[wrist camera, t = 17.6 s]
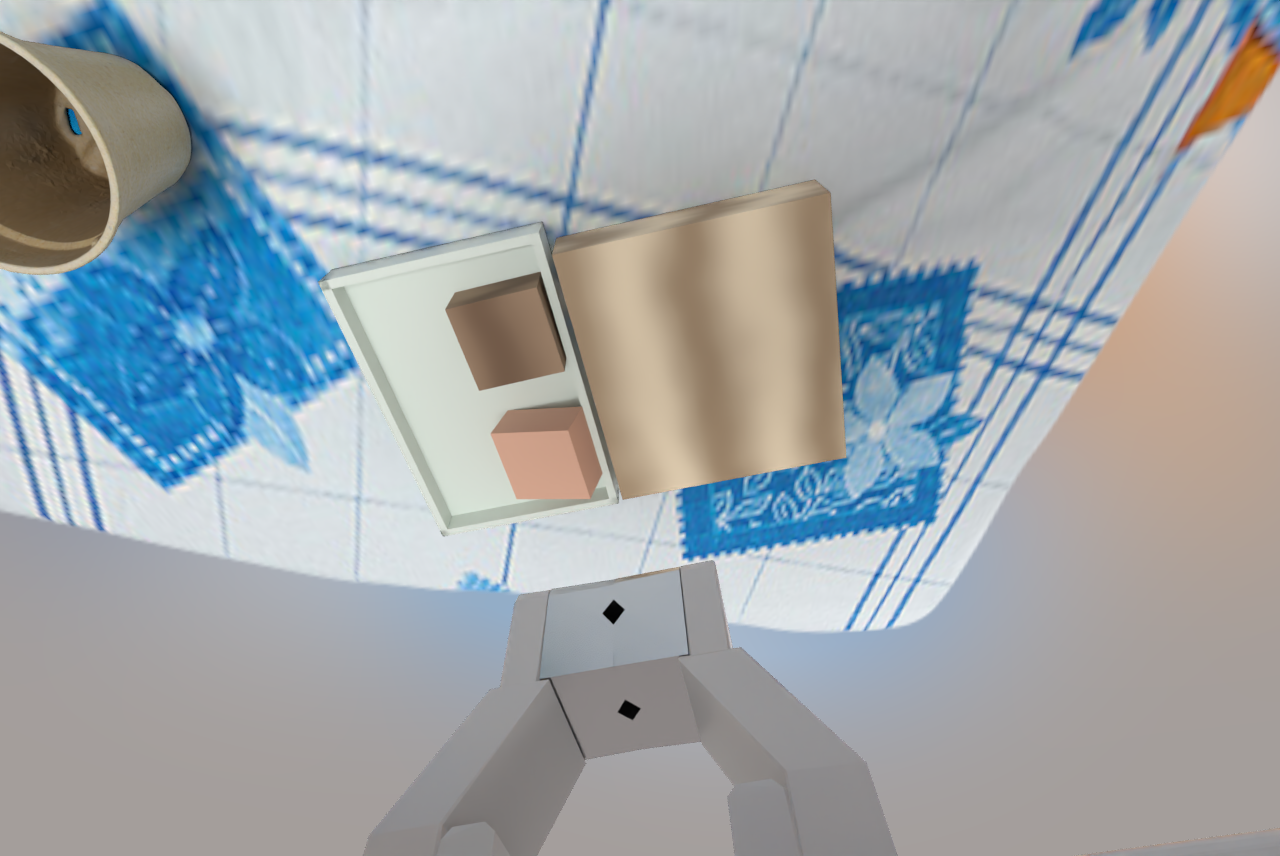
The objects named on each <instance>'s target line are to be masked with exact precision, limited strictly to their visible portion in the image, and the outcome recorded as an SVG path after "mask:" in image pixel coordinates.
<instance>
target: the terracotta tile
mask: <svg viewBox="0 0 1280 856" xmlns="http://www.w3.org/2000/svg"><path fill="white" fill-rule="evenodd" d="M490 434H491V436H492V439H493V441H494V444H495V446H496V449H497V451H498V454H499V456H500V459H501V461H502V464H503V466H504V469H505V471H506V474H507V476H508V479H509V481H510V484H511V486H512V489H513V491H514V494H515V496H516V499H591V497H592V495H593V492H594V490H595V488H596V486H597V484H598V482H599V480H600V478H601V476H602V474H603V473H602V470H601V467H600V463H599V460H598V457H597V454H596V450H595V447H594V444H593V440H592V437H591V434H590V431H589V427H588V424H587V421H586V418H585V414H584V411H583V408H582V407H564V408H545V409H526V410H508V411H507V412H506V413H505V415H504V416H503V417H502V419H501V420H500V421H499V423H498V424H497V425H496V427H495V428H494V429H493V431H492V432H491V433H490Z"/></svg>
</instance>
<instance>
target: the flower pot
mask: <svg viewBox="0 0 1280 856" xmlns="http://www.w3.org/2000/svg"><path fill="white" fill-rule="evenodd" d="M67 108H68V109H72V110H73V111H74V113H75V116H76V119H77V121H78V125H79V127H80V131H81V132H82V134H81V135H76V134H74V133H73V131H72V130H71V128H70V126H69V120H68V115H67V113H66V109H67ZM190 156H191V138H190V133H189V129H188V126H187V123H186V121H185V118H184V116H183V114H182V111H181V109H180V108H179V106H178V104H177V103H176V101H175V100H174V98H173V97H172V95H171V94H170V93H169V92H168V91H167V90H166V89H164V88H163V87H162V86H161V85H160V84H159V83H158V82H157V81H156V80H155V79H154V78H152V77H151V76H150V75H149V74H148V73H147V72H146V71H144V70H143V69H142V68H141V67H140V66H138V65H136V64H135V63H133V62H131V61H129V60H127V59H124V58H122V57H119V56H115V55H112V54H108V53H102V52H93V51H86V50H79V49H72V48H65V47H59V46H52V45H47V44H41V43H35V42H29V41H23V40H19V39H17V38H14V37H12V36H10V35H7V34H5V33H3V32H1V31H0V269H4V270H7V271H10V272H17V273H23V274H33V275H48V274H58V273H64V272H67V271H71V270H75V269H77V268H79V267H82V266H84V265H85V264H87V263H89V262H91V261H92V260H94V259H95V258H97V257H98V256H99V255H100V254H101V253H102V252H103V251H104V250H105V249H106V248H107V247H108V246H109V244H110V243H111V242H112V240H113V238H114V236H115V234H116V231H117V229H118V227H119V225H120V224H121V222H122V220H123V219H124V218H126V217H127V216H129V215H130V214H131V213H133V212H134V211H135V210H137V209H138V208H140V207H141V206H143V205H144V204H145V203H147V202H148V201H150V200H151V199H152V198H154V197H155V196H157V195H158V194H160V193H161V192H163V191H164V190H166V189H167V188H169V187H171V186H172V185H174V184H175V183H176V182H177V181H178V180H179V179H180V177H181V176H182V175H183V173H184V171H185V170H186V168H187V166H188V164H189V161H190Z"/></svg>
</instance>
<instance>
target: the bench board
mask: <svg viewBox="0 0 1280 856" xmlns="http://www.w3.org/2000/svg"><path fill="white" fill-rule="evenodd" d="M552 257H553V260H554V264H555V267H556V271H557V274H558V278H559V281H560V285H561V288H562V291H563V295H564V298H565V302H566V305H567V309H568V312H569V316H570V319H571V322H572V326H573V329H574V333H575V336H576V340H577V343H578V347H579V350H580V354H581V357H582V360H583V364H584V367H585V371H586V374H587V378H588V381H589V385H590V388H591V392H592V395H593V398H594V402H595V405H596V409H597V412H598V416H599V419H600V423H601V426H602V430H603V433H604V436H605V440H606V443H607V447H608V450H609V454H610V457H611V461H612V464H613V468H614V471H615V474H616V478H617V481H618V485H619V488H620V492H621V495H622V499H623V500H624V499H629V498H634V497H640V496H645V495H650V494H655V493H661V492H666V491H671V490H677V489H682V488H687V487H693V486H698V485H703V484H708V483H714V482H719V481H724V480H730V479H735V478H740V477H745V476H751V475H756V474H761V473H767V472H772V471H777V470H783V469H788V468H793V467H798V466H804V465H809V464H814V463H820V462H825V461H830V460H836V459H841V458H846V445H845V428H844V411H843V395H842V378H841V361H840V344H839V328H838V311H837V294H836V277H835V261H834V244H833V227H832V210H831V194H830V192H829V191H828V190H826V189H825V188H824V187H823V186H822V185H821V184H819V183H818V182H817V181H816V180H811V181H807V182H802V183H798V184H793V185H789V186H785V187H780V188H776V189H771V190H767V191H762V192H758V193H754V194H749V195H745V196H740V197H736V198H731V199H727V200H722V201H718V202H714V203H709V204H705V205H700V206H696V207H691V208H687V209H683V210H678V211H674V212H669V213H665V214H660V215H656V216H651V217H647V218H643V219H638V220H634V221H629V222H625V223H620V224H616V225H612V226H607V227H603V228H598V229H594V230H589V231H585V232H581V233H576V234H572V235H567V236H563V237H558V238H556V242H555V245H554V249H553V253H552Z"/></svg>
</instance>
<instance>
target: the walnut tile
mask: <svg viewBox="0 0 1280 856" xmlns="http://www.w3.org/2000/svg"><path fill="white" fill-rule="evenodd" d="M445 311H446V313H447V316H448V318H449V320H450V323H451V325H452V328H453V330H454V332H455V335H456V337H457V340H458V342H459V344H460V347H461V349H462V351H463V354H464V356H465V359H466V361H467V363H468V366H469V368H470V371H471V373H472V375H473V378H474V380H475V382H476V385H477V387H478V390H479V391H481V390H486V389H490V388H494V387H499V386H503V385H508V384H512V383H516V382H521V381H525V380H529V379H534V378H538V377H543V376H547V375H551V374H556V373H560V372H564V371H565V366H566V359H567V358H566V354H565V351H564V348H563V344H562V341H561V338H560V334H559V331H558V328H557V325H556V321H555V318H554V315H553V311H552V308H551V305H550V301H549V298H548V295H547V292H546V288H545V285H544V282H543V278H542V275H541V272H537V273H533V274H529V275H524V276H520V277H516V278H512V279H508V280H504V281H500V282H496V283H492V284H488V285H484V286H479V287H475V288H471V289H467V290H463V291H459V292H455V293H454V295H453V297H452V298H451V300H450V302H449V303H448V305H447V307H446V309H445Z"/></svg>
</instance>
